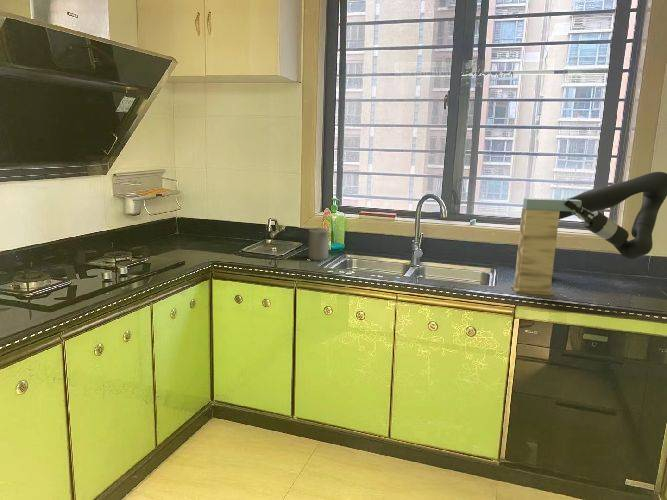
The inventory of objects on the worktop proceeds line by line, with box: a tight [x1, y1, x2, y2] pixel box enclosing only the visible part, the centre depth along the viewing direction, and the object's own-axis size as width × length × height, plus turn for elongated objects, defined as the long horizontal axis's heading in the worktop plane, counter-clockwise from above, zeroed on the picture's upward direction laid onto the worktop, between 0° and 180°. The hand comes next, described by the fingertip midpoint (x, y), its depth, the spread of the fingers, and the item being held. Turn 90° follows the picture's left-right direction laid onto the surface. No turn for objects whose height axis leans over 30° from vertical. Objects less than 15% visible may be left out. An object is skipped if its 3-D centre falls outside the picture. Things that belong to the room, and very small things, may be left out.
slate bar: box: [522, 197, 582, 211], centre depth 198 cm, size 4×20×4 cm, turn 87°
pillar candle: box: [307, 227, 330, 261], centre depth 251 cm, size 10×10×15 cm
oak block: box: [510, 207, 560, 296], centre depth 202 cm, size 8×14×32 cm, turn 87°
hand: (563, 201), depth 197 cm, fingers open, 4 cm apart
